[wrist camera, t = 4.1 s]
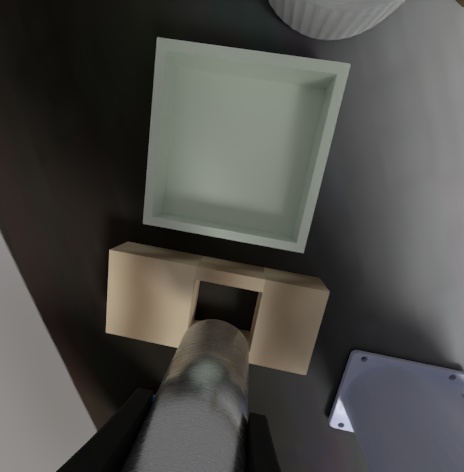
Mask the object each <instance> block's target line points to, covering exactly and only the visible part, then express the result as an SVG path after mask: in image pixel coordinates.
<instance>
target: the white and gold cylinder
mask: <svg viewBox="0 0 464 472" xmlns="http://www.w3.org/2000/svg"><path fill="white" fill-rule="evenodd" d="M248 370H249V347H248V343H247V341H246V339H245V337H244V335H243V334H242V333H241V332H240V330H238V329H237V328H236V327H235V326H233V325H232V324H230V323H228V322H225V321H222V320H216V319H208V320H203V321H199V322H197V323H195V324H193V325H192V326H191V327H190V328H189V329H188V330H187V331H186V332H185V334H184V336H183V338H182V340H181V342H180V344H179V346H178V349H177V351H176V353H175V355H174V357H173V359H172V361H171V364H170V366H169V368H168V370H167V372H166V374H165V376H164V379H163V381H162V383H161V385H160V387H159V389H158V391H157V394H156V396H155V398H154V400H153V402H152V404H151V406H150V409H149V411H148V413H147V415H146V417H145V419H144V421H143V424H142V426H141V428H140V430H139V432H138V434H137V436H136V439H135V441H134V443H133V445H132V447H131V449H130V451H129V454H128V456H127V458H126V460H125V462H124V464H123V466H122V469H121V471H120V472H246V446H247V408H248Z"/></svg>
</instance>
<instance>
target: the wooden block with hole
mask: <svg viewBox="0 0 464 472" xmlns="http://www.w3.org/2000/svg"><path fill="white" fill-rule="evenodd" d="M200 280H201V281H206V282H211V283H216V284H221V285H226V286H232V287H237V288H242V289H247V290H252V291H257V292H258V297H257V302H256V307H255V312H254V316H253V321H252V326H251V331H246V330H241V329H238V330H240V332H241V333H242V334H243V335H244V337H245V339H246V341H247V343H248V347H249V363H251V364H255V365H260V366H265V367H269V368H274V369H279V370H284V371H288V372H293V373H298V374H302V375H306V373H307V369H308V366H309V363H310V359H311V356H312V352H313V349H314V345H315V342H316V338H317V335H318V331H319V328H320V324H321V321H322V318H323V314H324V311H325V307H326V304H327V300H328V297H329V293H330V292H329V290H328V289H327V287H326V286H325V285H324V283H323V282H322V281H321V279H320V278H318V277H312V276H307V275H302V274H296V273H291V272H286V271H281V270H275V269H270V268H265V267H259V266H254V265H249V264H244V263H238V262H233V261H228V260H222V259H217V258H212V257H207V256H201V255H196V254H191V253H185V252H180V251H175V250H170V249H164V248H159V247H154V246H148V245H143V244H138V243H133V242H126V243H124V244H121V245H119V246H117V247H114V248H112V249H110V250H109V269H108V292H107V315H106V333H110V334H115V335H119V336H124V337H129V338H133V339H138V340H143V341H148V342H152V343H157V344H162V345H166V346H171V347H176V348H178V346H179V344H180V342H181V340H182V338H183V336H184V334H185V332H186V331H187V330H188V329H189V328H190V327H191V326H192V325H193V324H195V323H197V322H199V321H197V320H194V319H195V312H196V305H197V298H198V291H199V284H200Z"/></svg>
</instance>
